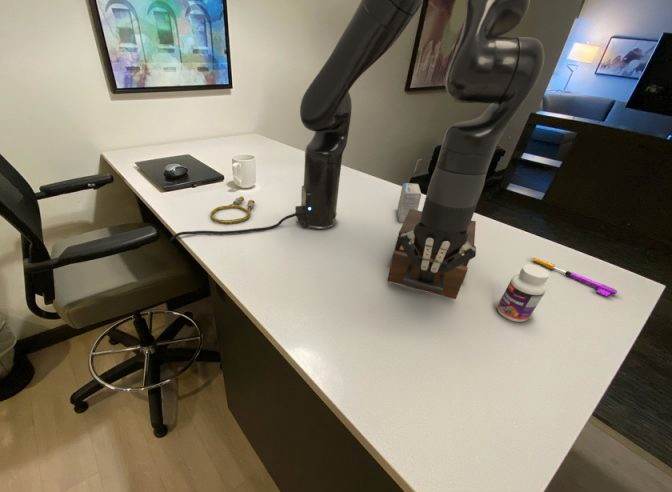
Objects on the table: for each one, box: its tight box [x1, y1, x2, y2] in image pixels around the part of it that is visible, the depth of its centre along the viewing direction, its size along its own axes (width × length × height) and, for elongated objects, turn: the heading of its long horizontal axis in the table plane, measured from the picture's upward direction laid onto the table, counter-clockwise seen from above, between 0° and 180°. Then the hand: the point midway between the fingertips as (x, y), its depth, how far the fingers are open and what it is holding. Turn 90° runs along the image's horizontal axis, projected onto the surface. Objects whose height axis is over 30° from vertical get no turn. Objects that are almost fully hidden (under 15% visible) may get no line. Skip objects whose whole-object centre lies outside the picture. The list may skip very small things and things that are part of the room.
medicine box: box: [396, 182, 422, 223], centre depth 93 cm, size 8×4×9 cm, turn 168°
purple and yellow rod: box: [531, 257, 618, 298], centre depth 71 cm, size 3×1×16 cm
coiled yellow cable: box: [210, 196, 256, 225], centre depth 96 cm, size 12×16×2 cm
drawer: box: [386, 239, 469, 300], centre depth 67 cm, size 18×13×7 cm
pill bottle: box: [496, 264, 550, 323], centre depth 59 cm, size 5×5×10 cm
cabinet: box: [394, 209, 477, 267], centre depth 74 cm, size 14×15×9 cm
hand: (423, 284), depth 62 cm, fingers closed
